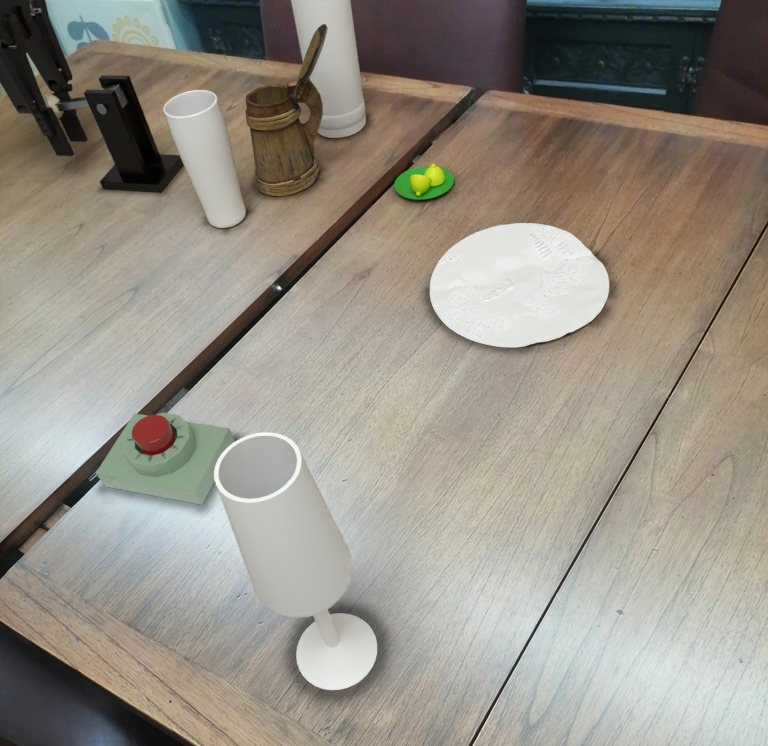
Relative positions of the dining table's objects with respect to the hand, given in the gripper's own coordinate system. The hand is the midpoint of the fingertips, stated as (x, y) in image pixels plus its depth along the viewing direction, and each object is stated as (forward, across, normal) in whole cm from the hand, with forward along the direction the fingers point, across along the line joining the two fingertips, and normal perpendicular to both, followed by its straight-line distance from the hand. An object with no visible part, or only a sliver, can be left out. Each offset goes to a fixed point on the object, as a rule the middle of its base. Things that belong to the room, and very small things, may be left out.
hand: (72, 147), depth 103 cm
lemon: (+4, +1, -54) cm, 54 cm away
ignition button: (0, -50, -41) cm, 64 cm away
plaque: (+5, -18, -70) cm, 72 cm away
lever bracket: (+4, 0, -11) cm, 11 cm away
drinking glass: (+4, -9, -29) cm, 30 cm away
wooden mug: (+4, +2, -36) cm, 36 cm away
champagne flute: (+4, -65, -64) cm, 91 cm away
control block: (+4, -50, -41) cm, 65 cm away
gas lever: (-5, 0, -5) cm, 7 cm away
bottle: (+4, +16, -37) cm, 40 cm away
